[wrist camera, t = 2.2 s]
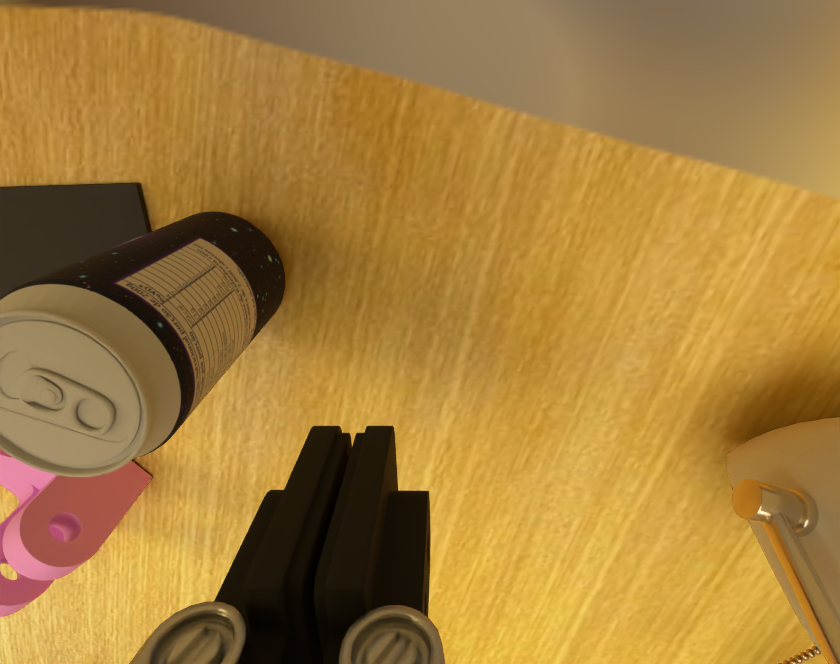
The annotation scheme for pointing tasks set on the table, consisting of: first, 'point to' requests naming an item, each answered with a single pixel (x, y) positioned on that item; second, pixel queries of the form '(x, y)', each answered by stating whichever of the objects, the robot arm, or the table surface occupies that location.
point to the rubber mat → (64, 226)
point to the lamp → (797, 520)
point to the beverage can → (130, 342)
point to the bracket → (57, 523)
